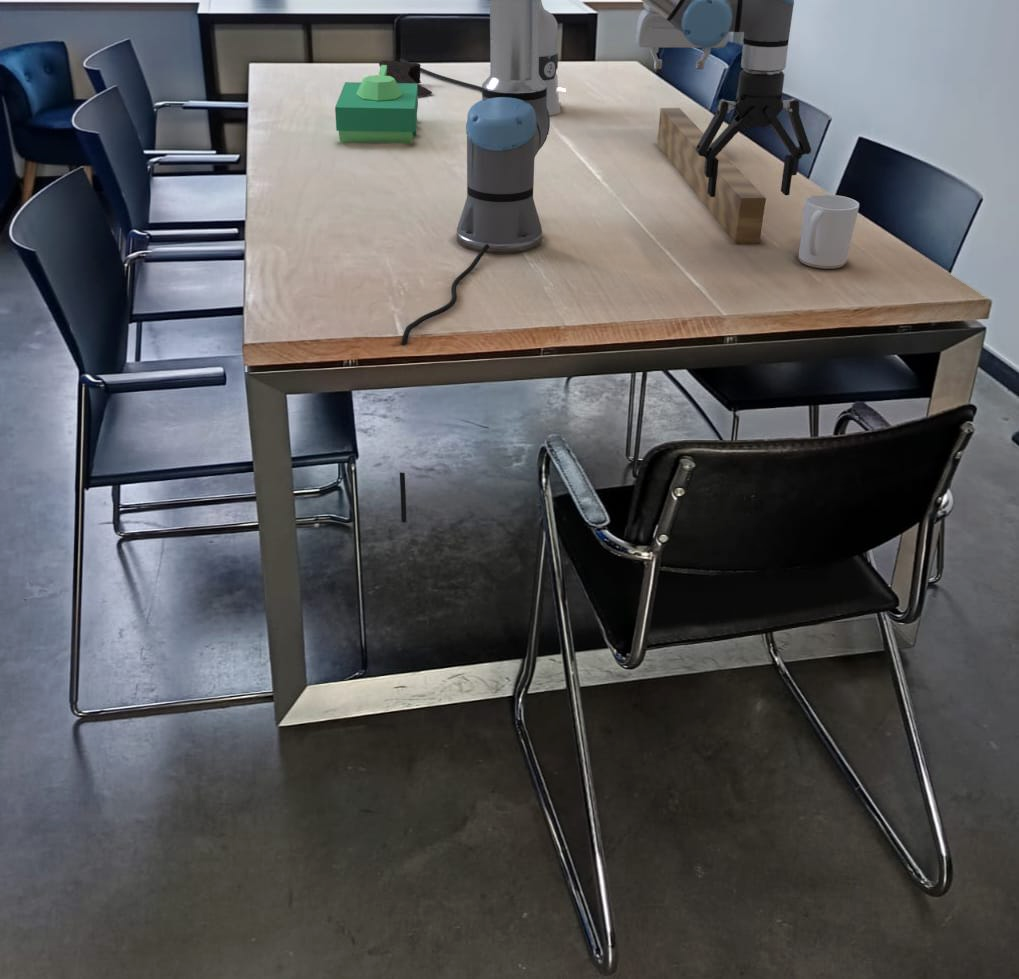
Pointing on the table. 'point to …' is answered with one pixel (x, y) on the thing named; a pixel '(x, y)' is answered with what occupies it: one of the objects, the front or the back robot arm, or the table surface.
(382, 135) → the green tank
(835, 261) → the mug
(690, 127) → the beam
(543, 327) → the table surface
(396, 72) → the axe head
